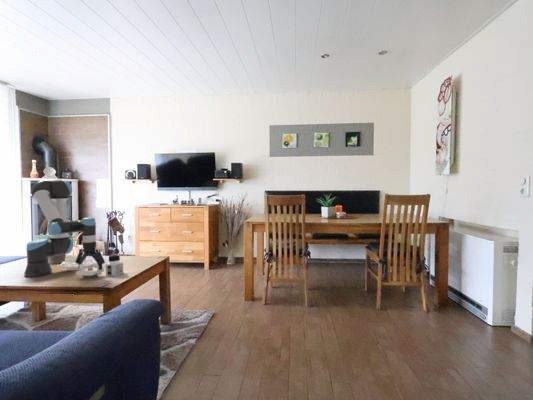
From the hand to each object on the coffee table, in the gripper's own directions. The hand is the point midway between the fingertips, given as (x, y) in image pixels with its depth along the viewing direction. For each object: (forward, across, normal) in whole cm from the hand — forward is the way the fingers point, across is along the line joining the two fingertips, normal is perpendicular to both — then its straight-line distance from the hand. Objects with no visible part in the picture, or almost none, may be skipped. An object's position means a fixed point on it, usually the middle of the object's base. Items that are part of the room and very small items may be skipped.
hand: (90, 274), depth 197 cm
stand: (+2, 0, 0) cm, 2 cm away
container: (+2, +10, +10) cm, 14 cm away
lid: (-1, 0, 0) cm, 1 cm away
